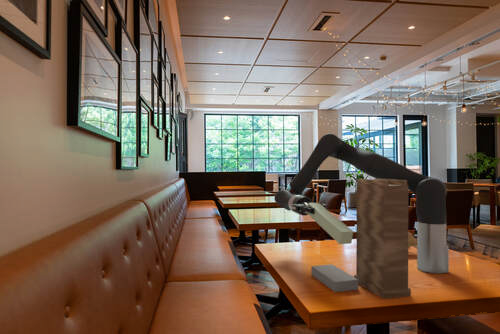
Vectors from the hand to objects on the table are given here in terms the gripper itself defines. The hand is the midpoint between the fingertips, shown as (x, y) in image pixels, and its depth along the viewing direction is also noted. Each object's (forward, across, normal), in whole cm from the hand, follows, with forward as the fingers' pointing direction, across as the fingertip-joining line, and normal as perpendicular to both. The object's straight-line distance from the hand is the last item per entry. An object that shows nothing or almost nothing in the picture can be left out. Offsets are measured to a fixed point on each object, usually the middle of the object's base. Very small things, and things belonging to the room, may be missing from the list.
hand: (319, 211), depth 115 cm
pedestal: (+18, +12, +21) cm, 31 cm away
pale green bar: (+6, 0, +4) cm, 7 cm away
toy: (-14, +50, +22) cm, 56 cm away
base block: (+10, 0, +22) cm, 24 cm away
